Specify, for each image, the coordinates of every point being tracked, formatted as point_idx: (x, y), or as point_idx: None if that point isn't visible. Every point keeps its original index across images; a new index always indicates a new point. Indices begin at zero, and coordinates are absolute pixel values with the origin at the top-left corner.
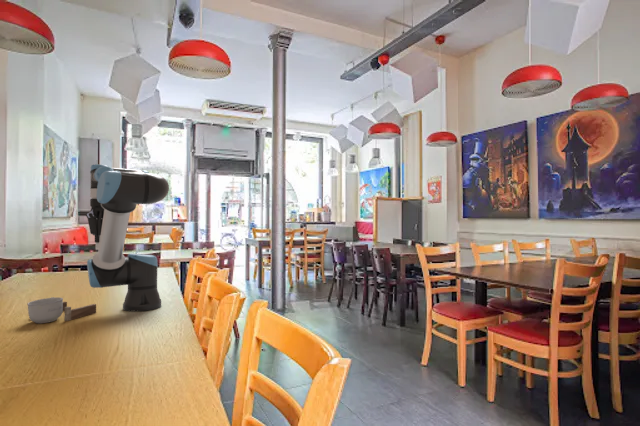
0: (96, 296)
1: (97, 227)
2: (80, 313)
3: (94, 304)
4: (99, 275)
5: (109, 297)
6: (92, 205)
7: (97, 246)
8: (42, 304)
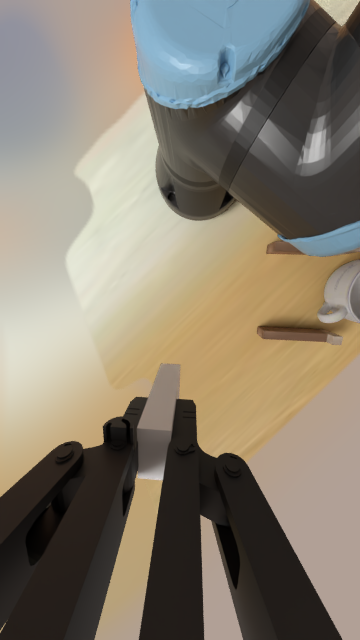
0: (134, 371)
1: (201, 574)
2: None
3: (279, 243)
4: None
5: (133, 336)
6: None
7: (178, 394)
8: None
